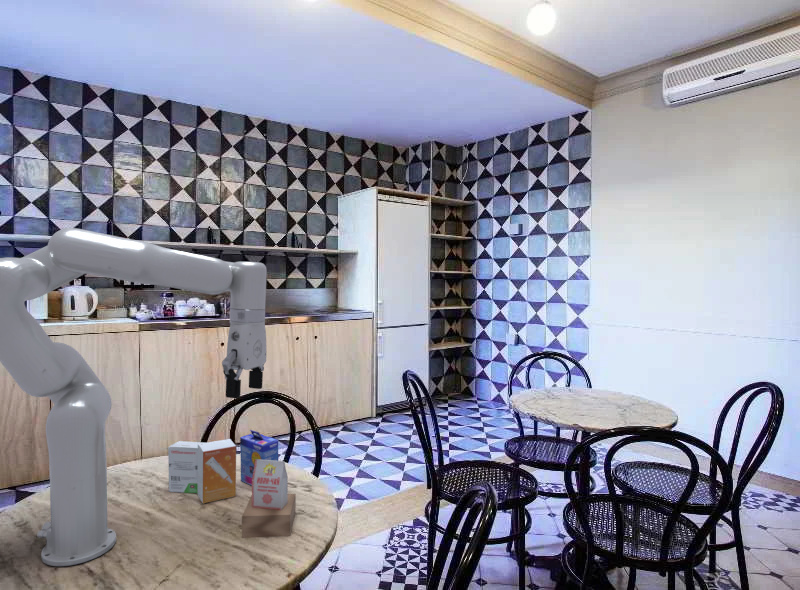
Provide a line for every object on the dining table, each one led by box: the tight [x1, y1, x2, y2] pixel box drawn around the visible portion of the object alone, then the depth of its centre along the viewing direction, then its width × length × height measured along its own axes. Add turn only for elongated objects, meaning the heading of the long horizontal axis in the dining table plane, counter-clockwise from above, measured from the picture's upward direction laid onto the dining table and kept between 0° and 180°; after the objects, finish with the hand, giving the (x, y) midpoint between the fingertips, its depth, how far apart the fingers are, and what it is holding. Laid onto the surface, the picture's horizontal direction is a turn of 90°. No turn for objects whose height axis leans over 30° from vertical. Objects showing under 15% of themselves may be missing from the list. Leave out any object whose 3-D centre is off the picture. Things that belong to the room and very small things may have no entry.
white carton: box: [251, 459, 289, 510], centre depth 108 cm, size 4×7×10 cm, turn 81°
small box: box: [197, 438, 237, 504], centre depth 122 cm, size 8×6×13 cm
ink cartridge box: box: [239, 429, 280, 487], centre depth 130 cm, size 10×6×14 cm, turn 54°
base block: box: [241, 493, 297, 539], centre depth 109 cm, size 10×10×5 cm
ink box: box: [167, 440, 204, 494], centre depth 126 cm, size 9×5×12 cm, turn 83°
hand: (244, 392), depth 110 cm, fingers open, 9 cm apart
